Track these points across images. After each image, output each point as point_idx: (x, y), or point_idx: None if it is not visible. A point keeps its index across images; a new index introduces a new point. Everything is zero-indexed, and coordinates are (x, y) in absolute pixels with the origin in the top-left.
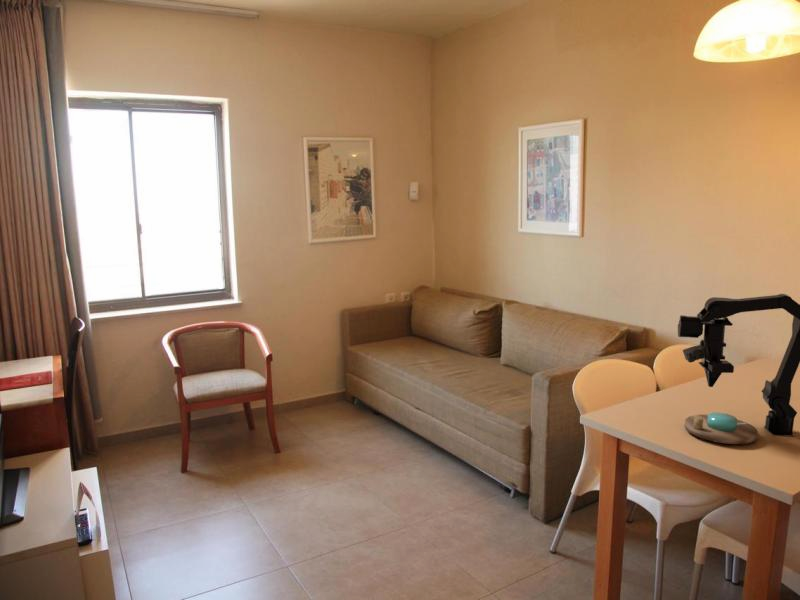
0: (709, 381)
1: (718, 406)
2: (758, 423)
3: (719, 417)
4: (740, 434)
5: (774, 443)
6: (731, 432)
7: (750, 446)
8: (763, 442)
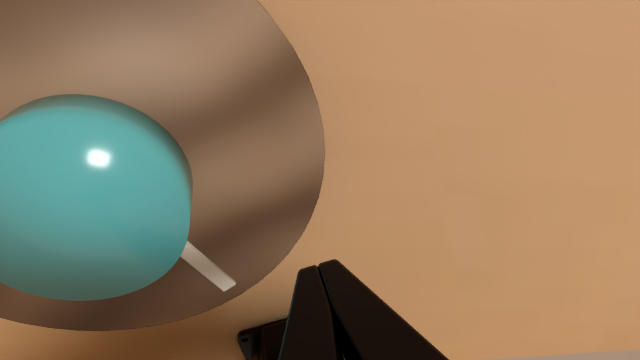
0: (285, 351)
1: (562, 162)
2: None
3: (55, 206)
4: None
5: (137, 339)
6: None
7: None
8: None
